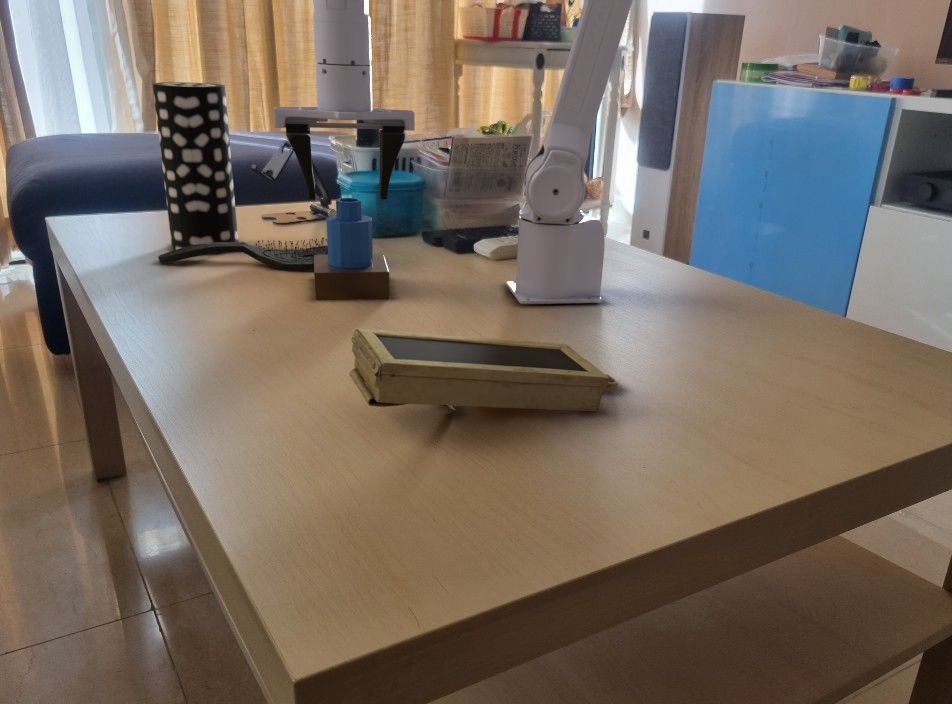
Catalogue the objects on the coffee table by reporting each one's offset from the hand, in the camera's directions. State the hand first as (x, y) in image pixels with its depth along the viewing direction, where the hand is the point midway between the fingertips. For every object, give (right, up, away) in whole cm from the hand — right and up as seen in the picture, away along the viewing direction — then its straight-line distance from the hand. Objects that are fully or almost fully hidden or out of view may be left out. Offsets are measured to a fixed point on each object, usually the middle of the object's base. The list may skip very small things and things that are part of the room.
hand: (348, 197), depth 92 cm
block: (0, -10, +3) cm, 10 cm away
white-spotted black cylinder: (-22, -2, +18) cm, 29 cm away
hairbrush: (-13, -5, +12) cm, 18 cm away
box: (+17, -23, -25) cm, 38 cm away
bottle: (0, -7, +2) cm, 7 cm away
